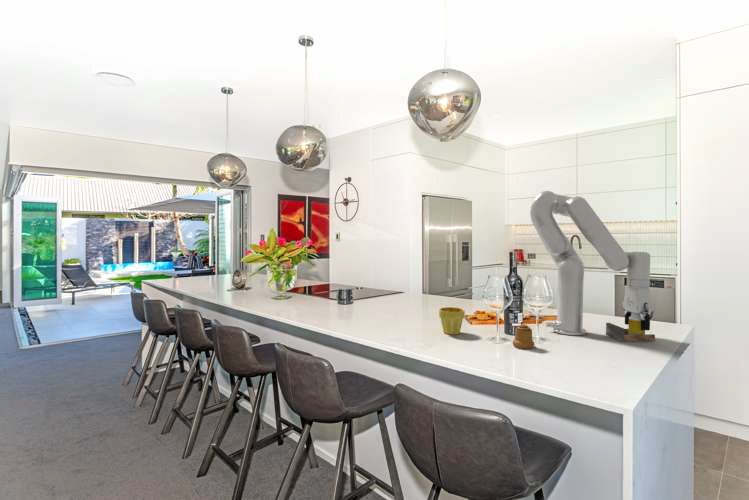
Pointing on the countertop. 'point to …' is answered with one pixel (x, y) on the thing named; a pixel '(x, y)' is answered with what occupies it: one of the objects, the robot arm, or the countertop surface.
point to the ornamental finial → (523, 337)
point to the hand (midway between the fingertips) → (636, 327)
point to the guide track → (626, 334)
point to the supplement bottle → (635, 324)
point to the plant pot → (451, 319)
